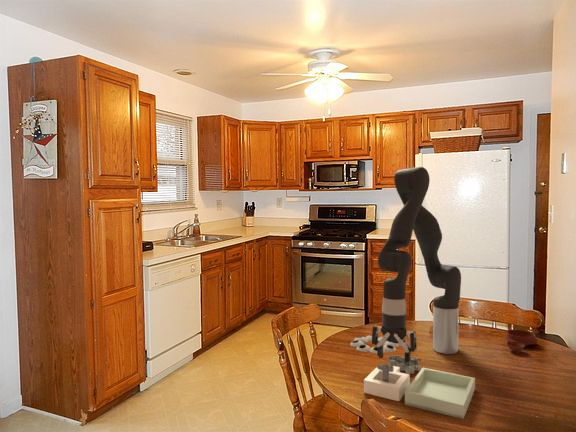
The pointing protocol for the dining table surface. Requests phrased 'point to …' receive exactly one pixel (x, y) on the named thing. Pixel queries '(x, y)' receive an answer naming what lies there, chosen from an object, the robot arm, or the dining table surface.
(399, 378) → the cream rectangular frame
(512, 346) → the pottery
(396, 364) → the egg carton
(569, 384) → the dining table surface
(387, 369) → the T-head stake
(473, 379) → the tray
